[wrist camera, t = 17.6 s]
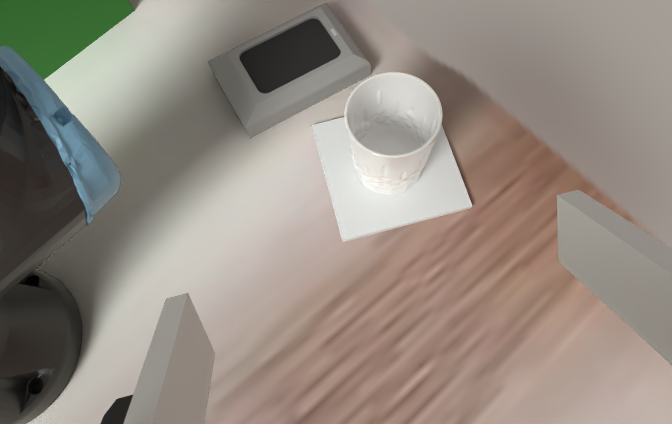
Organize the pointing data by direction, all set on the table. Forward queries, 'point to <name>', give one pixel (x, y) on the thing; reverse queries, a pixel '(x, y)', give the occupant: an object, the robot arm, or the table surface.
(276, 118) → the grey box
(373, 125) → the white cup
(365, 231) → the mat
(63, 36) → the hardback book
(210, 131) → the table surface
